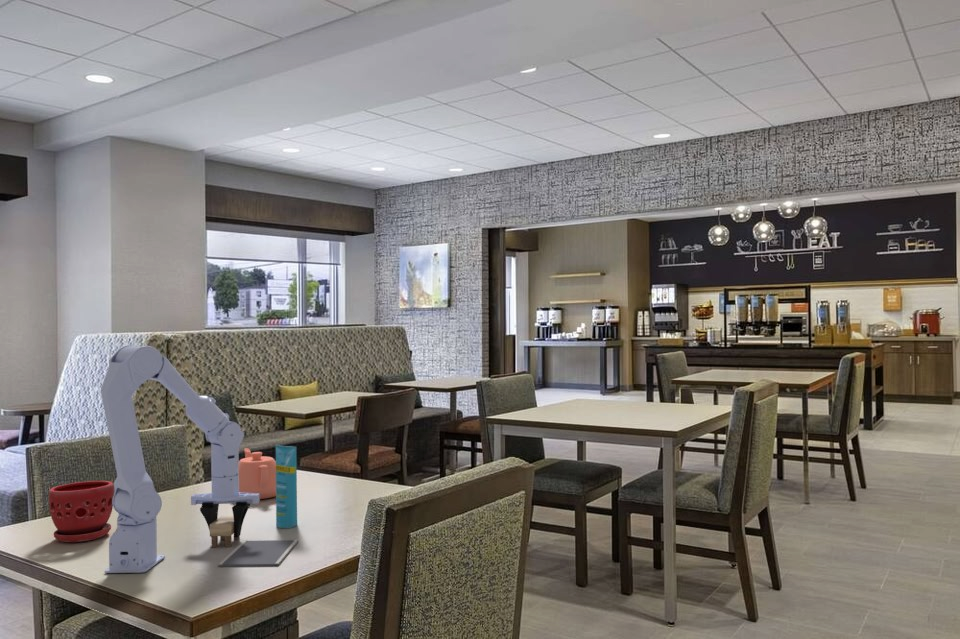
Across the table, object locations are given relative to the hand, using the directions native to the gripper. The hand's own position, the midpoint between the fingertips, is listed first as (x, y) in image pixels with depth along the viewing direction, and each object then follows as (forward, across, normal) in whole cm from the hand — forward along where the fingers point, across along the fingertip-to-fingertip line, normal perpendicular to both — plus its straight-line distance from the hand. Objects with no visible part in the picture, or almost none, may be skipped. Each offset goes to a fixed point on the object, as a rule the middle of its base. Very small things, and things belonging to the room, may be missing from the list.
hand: (225, 536), depth 162 cm
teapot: (+2, +7, -45) cm, 46 cm away
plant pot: (+2, +35, -6) cm, 36 cm away
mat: (+1, -10, +8) cm, 13 cm away
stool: (+1, 0, 0) cm, 1 cm away
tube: (+2, -10, -13) cm, 16 cm away
